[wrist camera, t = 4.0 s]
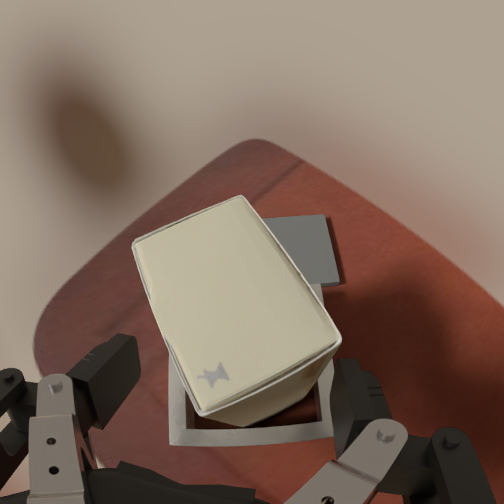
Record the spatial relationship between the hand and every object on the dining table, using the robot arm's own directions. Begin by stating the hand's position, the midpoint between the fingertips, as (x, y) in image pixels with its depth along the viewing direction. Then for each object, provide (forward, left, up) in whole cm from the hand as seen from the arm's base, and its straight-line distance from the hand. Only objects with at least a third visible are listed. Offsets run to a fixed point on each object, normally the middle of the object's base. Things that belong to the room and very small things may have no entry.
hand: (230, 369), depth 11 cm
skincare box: (+1, 0, -8) cm, 8 cm away
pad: (+10, -4, -8) cm, 13 cm away
